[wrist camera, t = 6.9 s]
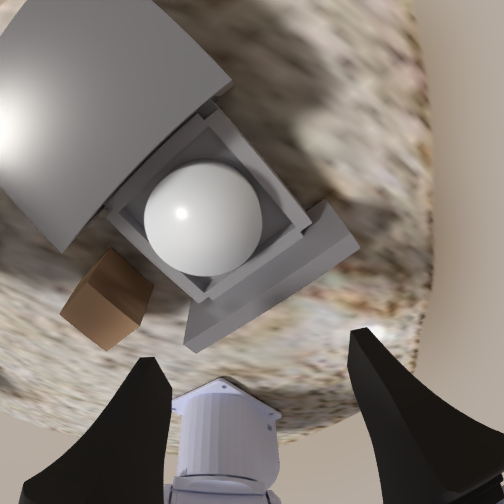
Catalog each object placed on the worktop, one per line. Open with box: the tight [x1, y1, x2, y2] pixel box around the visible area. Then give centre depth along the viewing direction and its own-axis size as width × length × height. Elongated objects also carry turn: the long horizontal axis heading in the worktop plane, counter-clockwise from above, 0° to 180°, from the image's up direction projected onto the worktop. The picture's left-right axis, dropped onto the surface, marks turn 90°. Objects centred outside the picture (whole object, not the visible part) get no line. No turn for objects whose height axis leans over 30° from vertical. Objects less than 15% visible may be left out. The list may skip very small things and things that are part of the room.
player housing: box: [0, 0, 234, 254], centre depth 11 cm, size 10×11×6 cm
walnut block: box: [60, 247, 154, 351], centre depth 18 cm, size 4×4×4 cm
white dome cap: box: [144, 159, 262, 276], centre depth 15 cm, size 6×6×2 cm
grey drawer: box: [103, 99, 361, 353], centre depth 15 cm, size 11×11×5 cm
